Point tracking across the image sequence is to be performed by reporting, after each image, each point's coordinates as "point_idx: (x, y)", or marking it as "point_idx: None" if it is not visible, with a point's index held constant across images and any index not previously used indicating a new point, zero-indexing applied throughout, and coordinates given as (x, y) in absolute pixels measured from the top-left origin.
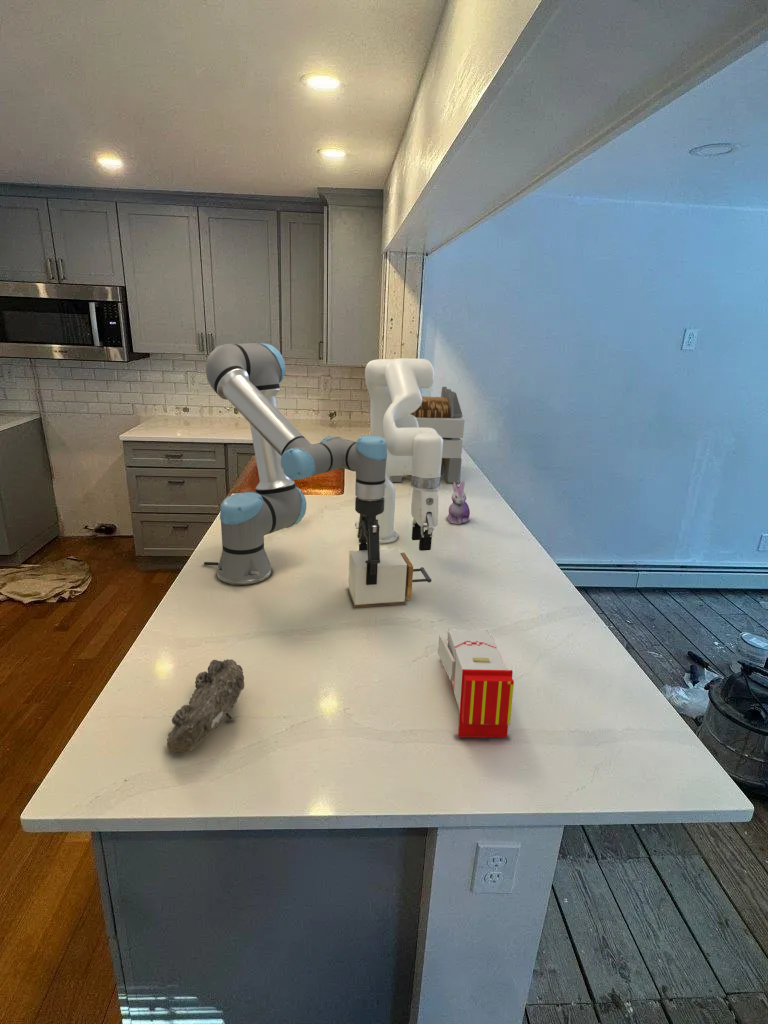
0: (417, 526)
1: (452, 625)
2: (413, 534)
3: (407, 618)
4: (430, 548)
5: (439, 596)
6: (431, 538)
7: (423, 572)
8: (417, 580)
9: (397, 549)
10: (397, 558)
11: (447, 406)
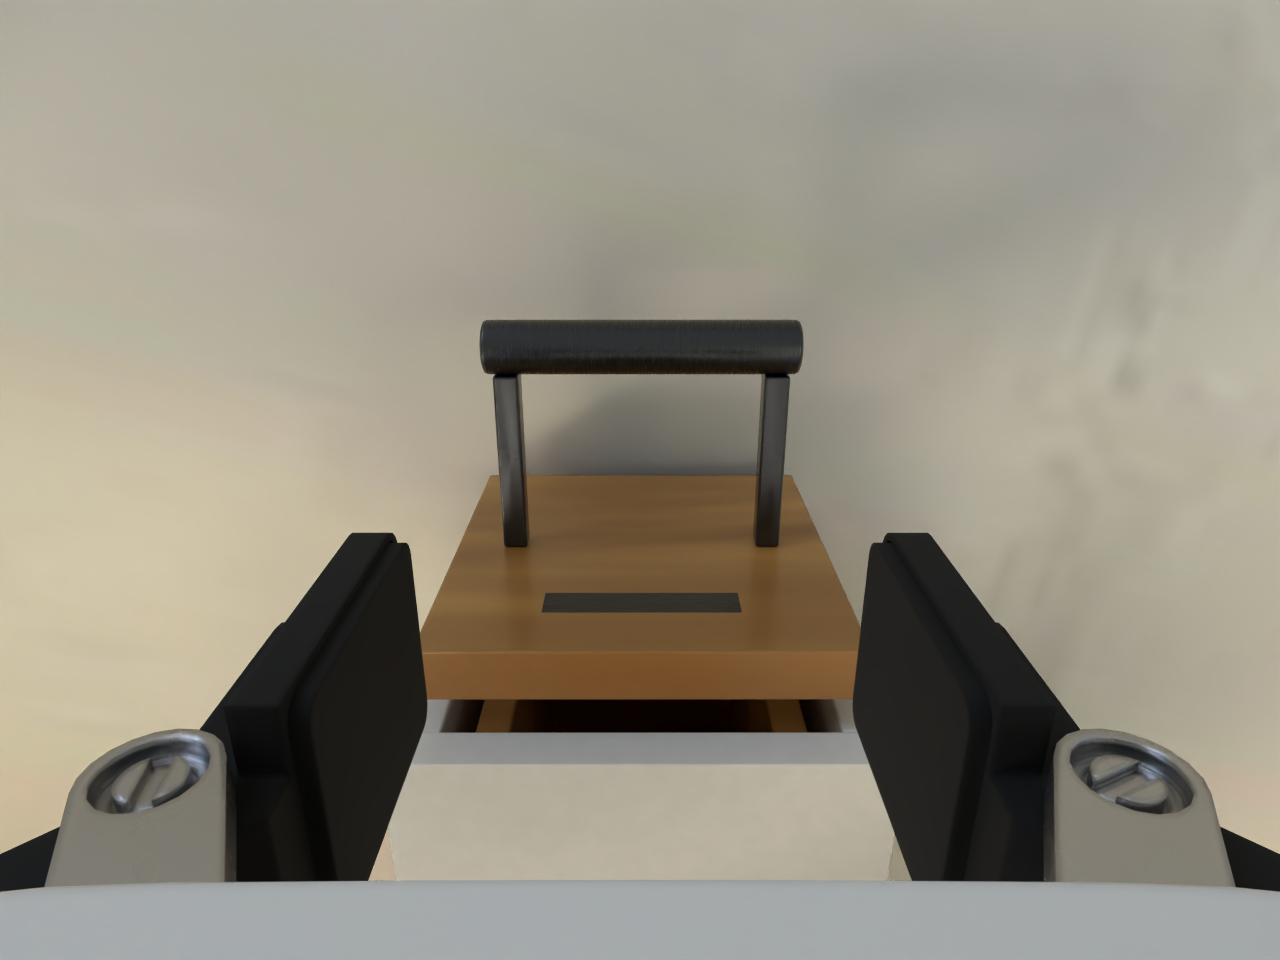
0: (305, 871)
1: (1248, 223)
2: (394, 790)
3: (1014, 548)
4: (929, 547)
5: (724, 169)
6: (1027, 674)
7: (615, 371)
8: (781, 482)
9: (410, 769)
10: (701, 826)
11: None
